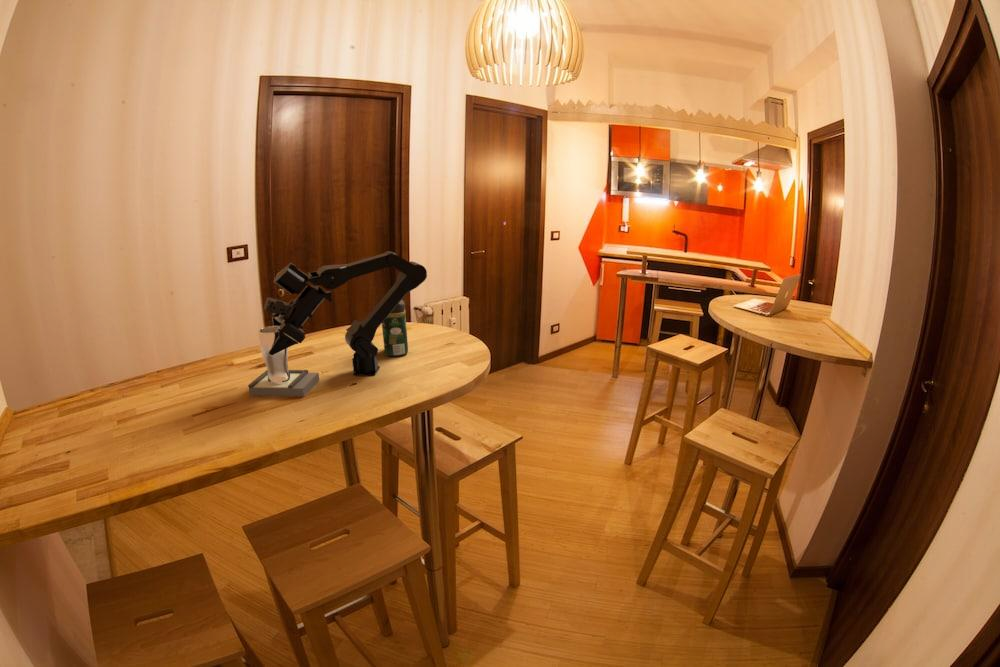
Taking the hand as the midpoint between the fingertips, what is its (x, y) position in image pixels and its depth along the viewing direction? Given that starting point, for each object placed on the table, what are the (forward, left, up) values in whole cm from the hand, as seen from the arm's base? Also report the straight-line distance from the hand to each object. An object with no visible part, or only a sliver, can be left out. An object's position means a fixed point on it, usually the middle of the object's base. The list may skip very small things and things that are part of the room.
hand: (268, 349), depth 137 cm
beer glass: (-2, 0, -10) cm, 10 cm away
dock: (-3, -1, -12) cm, 13 cm away
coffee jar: (-27, -31, -12) cm, 43 cm away
